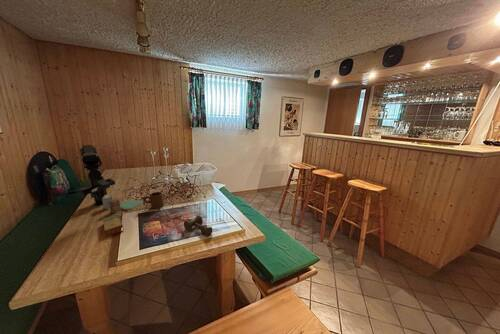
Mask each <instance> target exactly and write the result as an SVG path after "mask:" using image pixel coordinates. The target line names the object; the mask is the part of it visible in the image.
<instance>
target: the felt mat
mask: <svg viewBox="0 0 500 334" xmlns="http://www.w3.org/2000/svg"><path fill="white" fill-rule="evenodd" d="M143 203H144V204H145V202H144V201H143V200H138V199H137V200H136V199H133V198H132V199H130V198H129V199H127V200H125V201H123V202H120V207H121V208H127V209H128V210H132V209H134V208H136V207H137V206H139V205H142V204H143Z"/></svg>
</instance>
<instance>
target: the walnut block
mask: <svg viewBox="0 0 500 334" xmlns="http://www.w3.org/2000/svg"><path fill="white" fill-rule="evenodd" d="M120 204H121V202H120V199H118V198H112V200H111V201H109V206H110V209H109V211H110V213H112V214H117V213H119V212H122V210H121V207H120Z"/></svg>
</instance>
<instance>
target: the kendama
mask: <svg viewBox="0 0 500 334" xmlns="http://www.w3.org/2000/svg"><path fill="white" fill-rule="evenodd" d="M203 222H204V221H203V218H202V216H201V215H198V214H197V215H196V216H195V218H194V219H192V220H191V219H189V218H186V220H184V222H183V227H184V229H185V231H186V232H191V230H192V228H193V227H195V226H196V227H197V229H199V231H200V233H202V234H204V236H205V237H209V236H210V235H212V234H213V227H212V226H208V225H207V224H203Z"/></svg>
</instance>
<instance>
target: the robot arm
mask: <svg viewBox="0 0 500 334" xmlns="http://www.w3.org/2000/svg"><path fill="white" fill-rule="evenodd" d="M79 152H80V156H81V160H82V164H83V169H86V172H87V176H88V177H87V179H86V180H88V181H89V184H88V187H85V186H84V187H81V188H78V189H77V190H76V194H77V195H80V196H86V195H89V194H90V197H91V198H92V199H93V200H94V203H92V205H93V206H94V205H95V206H103V201H102V199H103V197H105V196H107V195H108V193H107V189H109V188H110V187H111V186H114V185H116V181H115V180H114V179H112V178H111V177H110V178H107V179H104V177H103V176H102V172H101V169H100V167H102V165H103V162H102V159H101V157H100V155H98V151H97V148H96V147H94V146H93V145H92V144H87V145H86V144H85V145H82V147H81V148H80V149H79Z"/></svg>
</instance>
